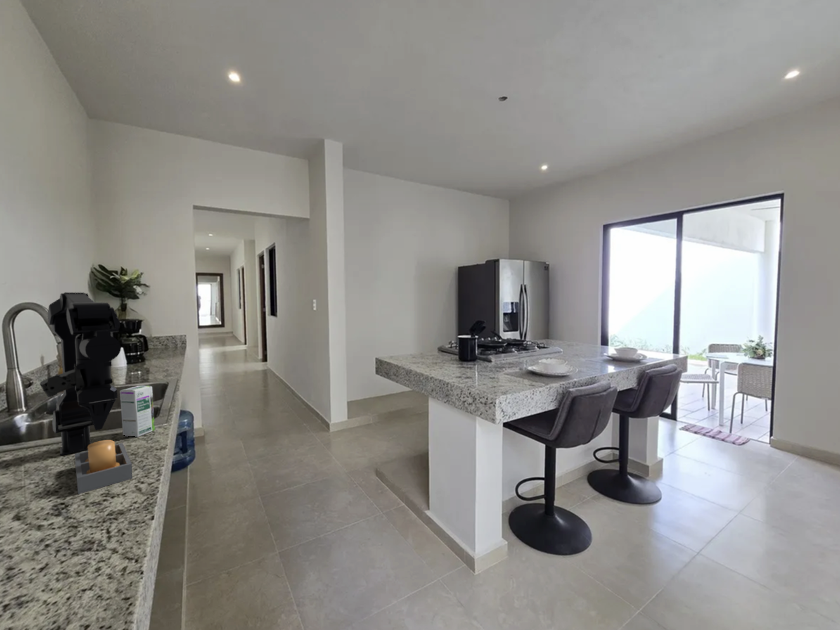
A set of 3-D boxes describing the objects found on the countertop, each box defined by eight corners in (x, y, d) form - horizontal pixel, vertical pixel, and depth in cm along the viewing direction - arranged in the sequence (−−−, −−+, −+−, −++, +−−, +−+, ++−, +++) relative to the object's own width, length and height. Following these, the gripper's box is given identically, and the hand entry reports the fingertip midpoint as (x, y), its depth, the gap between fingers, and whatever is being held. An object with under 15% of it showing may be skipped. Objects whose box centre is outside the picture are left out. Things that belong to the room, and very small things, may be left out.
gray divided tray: (75, 467, 88) (74, 443, 88) (123, 455, 94) (122, 433, 94) (78, 494, 76) (76, 466, 75) (132, 478, 82) (131, 453, 82)
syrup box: (137, 437, 107) (135, 390, 106) (121, 436, 108) (119, 389, 108) (155, 430, 113) (153, 385, 112) (140, 429, 114) (137, 384, 113)
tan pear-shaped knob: (85, 475, 82) (83, 445, 82) (118, 466, 86) (116, 437, 86) (87, 483, 78) (85, 452, 78) (121, 473, 82) (119, 444, 82)
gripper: (43, 357, 82) (47, 423, 82) (40, 368, 69) (45, 447, 69) (107, 351, 90) (110, 412, 90) (115, 360, 77) (119, 431, 77)
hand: (97, 424), depth 82 cm, fingers open, 9 cm apart
